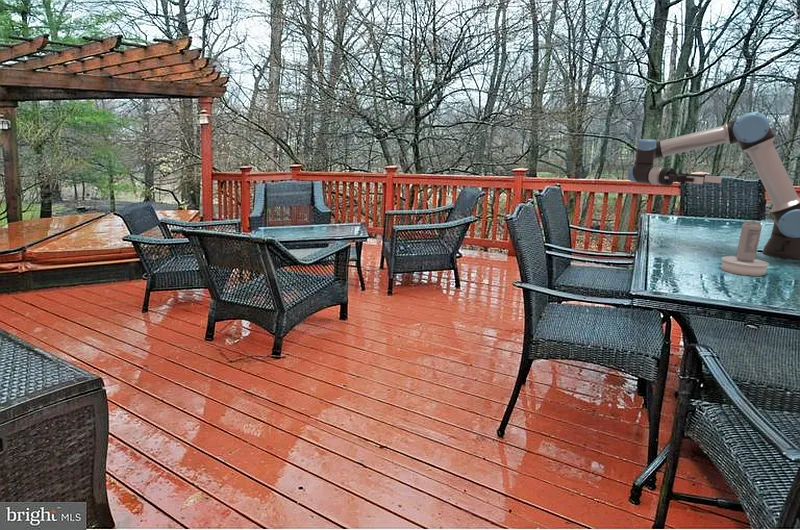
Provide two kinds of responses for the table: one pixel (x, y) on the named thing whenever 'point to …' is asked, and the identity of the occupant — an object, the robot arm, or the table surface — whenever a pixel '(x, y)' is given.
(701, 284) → the table surface
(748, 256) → the energy drink can
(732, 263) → the pedestal
